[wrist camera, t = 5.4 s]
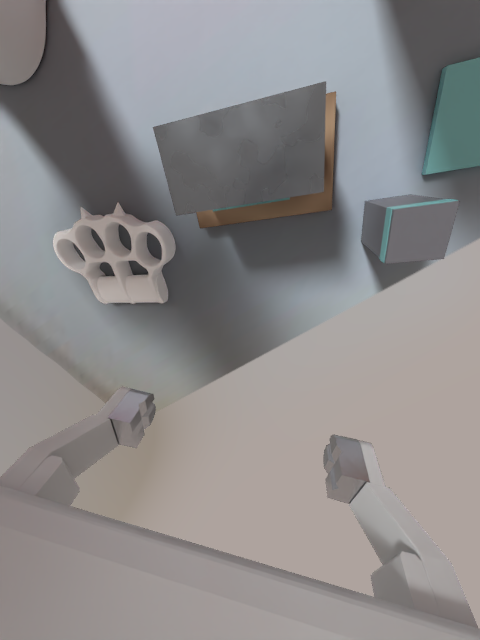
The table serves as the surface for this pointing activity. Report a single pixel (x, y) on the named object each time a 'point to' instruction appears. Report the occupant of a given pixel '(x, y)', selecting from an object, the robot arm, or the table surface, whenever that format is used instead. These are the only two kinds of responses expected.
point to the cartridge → (408, 227)
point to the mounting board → (293, 205)
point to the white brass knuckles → (117, 256)
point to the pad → (455, 120)
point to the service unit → (246, 152)
